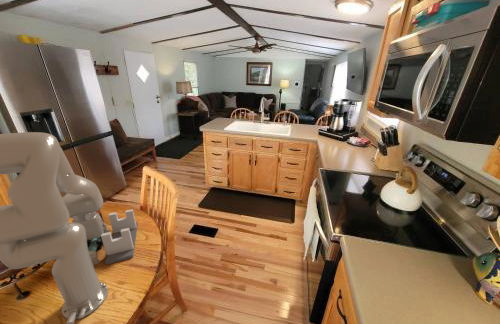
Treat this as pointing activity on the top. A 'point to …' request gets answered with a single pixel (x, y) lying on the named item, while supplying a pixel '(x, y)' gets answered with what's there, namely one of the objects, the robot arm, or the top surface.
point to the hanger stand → (120, 237)
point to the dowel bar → (94, 250)
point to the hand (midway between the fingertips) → (95, 247)
